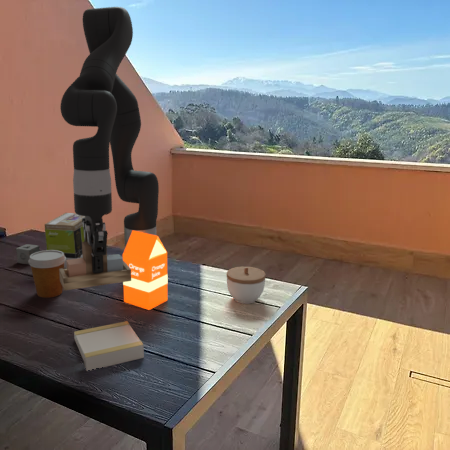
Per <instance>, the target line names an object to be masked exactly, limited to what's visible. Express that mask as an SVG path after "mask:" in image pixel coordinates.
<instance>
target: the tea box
mask: <svg viewBox="0 0 450 450" xmlns="http://www.w3.org/2000/svg"><path fill="white" fill-rule="evenodd" d="M82 218H85V216H81V215H78V214H76V213H75V212H65V213H63V214H61V215H59V216H57V217H55V218H54V219H51V220H50V221H47V222H46V223H44V234H45V244H46V250H58V251H61V252H63V253H64V256H65V257H66V260H71V259H79V258H83V254H82V242H84V241H85V240H84V231H83V222H82ZM66 260H65V262H64V269H67V264H66Z"/></svg>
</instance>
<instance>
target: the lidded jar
mask: <svg viewBox="0 0 450 450" xmlns="http://www.w3.org/2000/svg"><path fill="white" fill-rule="evenodd" d="M266 277H267V274H266V272H265V271H264V270H263V269H260V268H258V267H254V266H236V267H232V268H230V269H228V270H227V272H226V287H227V289H228V290H227V291H228V293H229V294H230V296H231V297H232V299H233V300H234V301H235V302H237V303H239V304H243V305H244V304H245V305H246V304H254V303H255V302H256V301H257V300H258V299H259V298H260V297H261V296H262V294H263V292H264V289H265V285H266V284H265V283H266Z"/></svg>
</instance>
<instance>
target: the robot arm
mask: <svg viewBox="0 0 450 450" xmlns="http://www.w3.org/2000/svg"><path fill="white" fill-rule="evenodd" d="M82 28H83V33H84V36H85V37H84V38H85V41H86V45H87V48H88V52H89V54H88V55H87V56H86V58H85V60H84V62H83V64H82V67H81V70H80V73H79V76H78V77H77V78H76V79H75V80H74V81H73V82H72V83H70V85H69V86H68V88H66V90H65V91H64V94H63V95H62V97H61V100H60V114H61V117H62V119H64V121H65V122H66V123H67V124H69V125H70V126H73V127H74V126H75V127H94V128H95V127H97V131H96V133H95V135H93V136H90V137H85V138H79V139H76V140H75V141H74V142H73V143H72V158H73V161H72V162H73V175H72V176H73V178H72V183H73V184H72V186H73V206H74V208H73V209H74V213H76V214H78V215H81V216H85V218H82V222H83V231H84V240H85V241H84V242H86V241H87V242H88V245H90V246H91V255H92V271H93V273H102V272H103V271H104V268H103V256H104V255H106V247H107V245H108V235H109V234H108V233H109V232H108V231H107V230H106V229H107V228H106V223H105V222H104V220H103V217H104V216H106V215H110V214H111V213H112V211H113V201H112V197H113V196H112V176H111V172H110V150H111V157H112V162H113V163H112V164H113V173H114V182H115V188H116V192H117V196H118V197H119V198H120V200H121V201H122V202H126V203H131V204H138V210H137V212H133V213H132V212H131V213H129V214H127V215H126V216H125V217H124V219H123V232H124V233H123V235H124V249H125V248H126V245H127V243H128V240H129V238H130V235H131V233H132V230H133V231H138V232H142V233H147V234H151V235H156V236H157V220H158V219H157V218H158V213H159V193H160V192H159V191H160V190H159V188H160V187H159V180H158V177H157V175H156V174H155V173H154V172H151V171H143V170H134V166H133V163H132V162H133V160H132V152H133V148H134V145H136V141H137V140H138V137H139V134H140V133H141V128H142V121H141V114H140V113H141V112H140V107H139V102H138V99H137V98H136V96H135V94H134V93H133V91H132V90H131V89H130V87H128V85H127V84H126V83H125V82H124V81H123V80H122V79H121V78H120V76H119V75H118V74H117V72H118V69H119V67H120V64H121V63H122V61H123V60H124V57H125V56H126V54H127V52H128V50H129V49H130V48H131V47H130V46H131V45H132V41H133V38H134V37H133V36H134V35H133V34H134V31H133V29H134V28H133V22H132V19H131V15H130V13H129V12H128V10H127V9H126V8H125V7H123V6H111V7H110V6H108V7H97V8H88V9H85V10H84V11H83V14H82ZM92 241H93V242H92ZM98 247H100V250H97V248H98Z"/></svg>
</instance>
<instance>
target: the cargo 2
mask: <svg viewBox="0 0 450 450" xmlns="http://www.w3.org/2000/svg"><path fill="white" fill-rule="evenodd" d="M119 270H123V256H122V255H120V253H117V254H107V271H108V272H111V271H119Z"/></svg>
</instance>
